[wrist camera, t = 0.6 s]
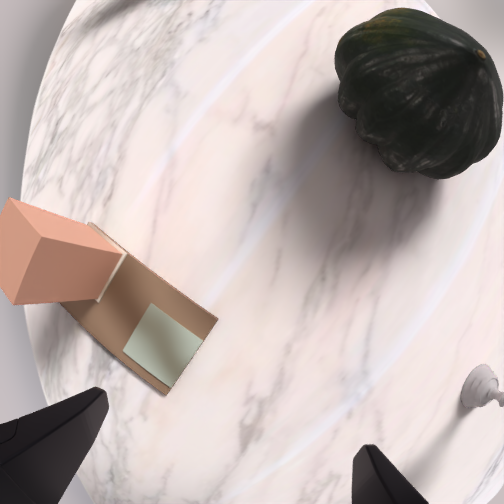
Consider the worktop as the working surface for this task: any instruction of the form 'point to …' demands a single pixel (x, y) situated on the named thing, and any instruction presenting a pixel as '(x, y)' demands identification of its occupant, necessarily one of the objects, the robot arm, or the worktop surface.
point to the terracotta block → (51, 257)
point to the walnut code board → (144, 321)
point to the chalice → (481, 388)
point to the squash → (420, 92)
